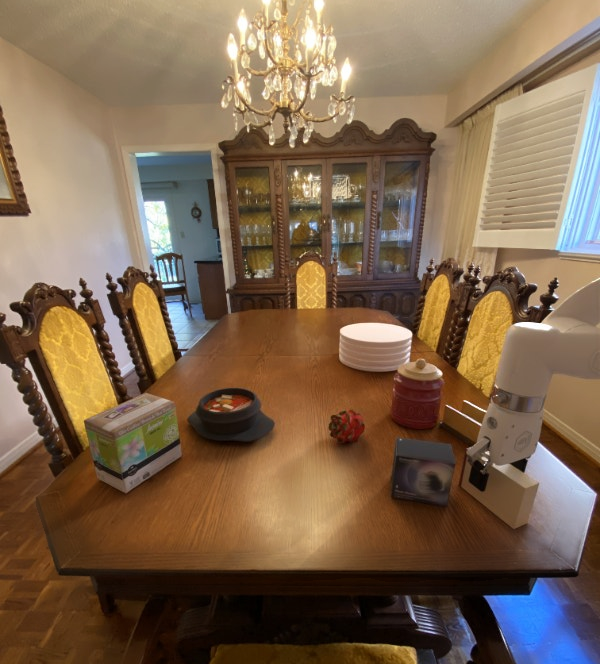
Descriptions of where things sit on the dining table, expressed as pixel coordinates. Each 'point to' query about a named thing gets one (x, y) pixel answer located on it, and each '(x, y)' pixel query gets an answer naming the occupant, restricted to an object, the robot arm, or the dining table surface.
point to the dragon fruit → (346, 426)
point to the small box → (422, 471)
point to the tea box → (133, 440)
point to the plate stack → (375, 346)
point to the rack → (464, 422)
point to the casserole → (231, 416)
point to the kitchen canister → (417, 395)
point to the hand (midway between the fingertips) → (495, 479)
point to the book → (503, 491)
